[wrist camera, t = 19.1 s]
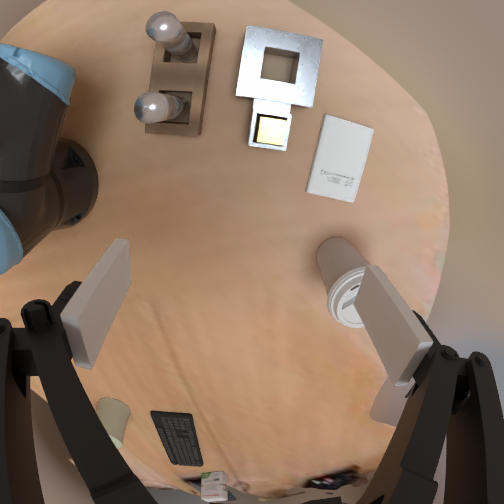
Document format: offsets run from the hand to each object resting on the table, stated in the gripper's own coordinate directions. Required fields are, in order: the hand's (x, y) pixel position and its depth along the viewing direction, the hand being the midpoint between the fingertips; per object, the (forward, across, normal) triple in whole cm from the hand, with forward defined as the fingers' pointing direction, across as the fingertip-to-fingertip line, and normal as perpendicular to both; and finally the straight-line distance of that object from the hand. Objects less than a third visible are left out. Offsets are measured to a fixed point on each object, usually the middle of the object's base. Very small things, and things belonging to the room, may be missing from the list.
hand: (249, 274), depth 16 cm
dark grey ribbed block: (+32, -9, -81) cm, 88 cm away
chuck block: (+32, +3, +12) cm, 34 cm away
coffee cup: (+32, +18, -13) cm, 39 cm away
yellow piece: (+30, +3, +6) cm, 31 cm away
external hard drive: (+32, +15, +3) cm, 36 cm away
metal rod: (+32, -10, +16) cm, 37 cm away
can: (+32, -27, -66) cm, 78 cm away
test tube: (+32, -10, +8) cm, 34 cm away
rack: (+32, -10, +12) cm, 35 cm away
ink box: (+32, +3, -108) cm, 113 cm away
